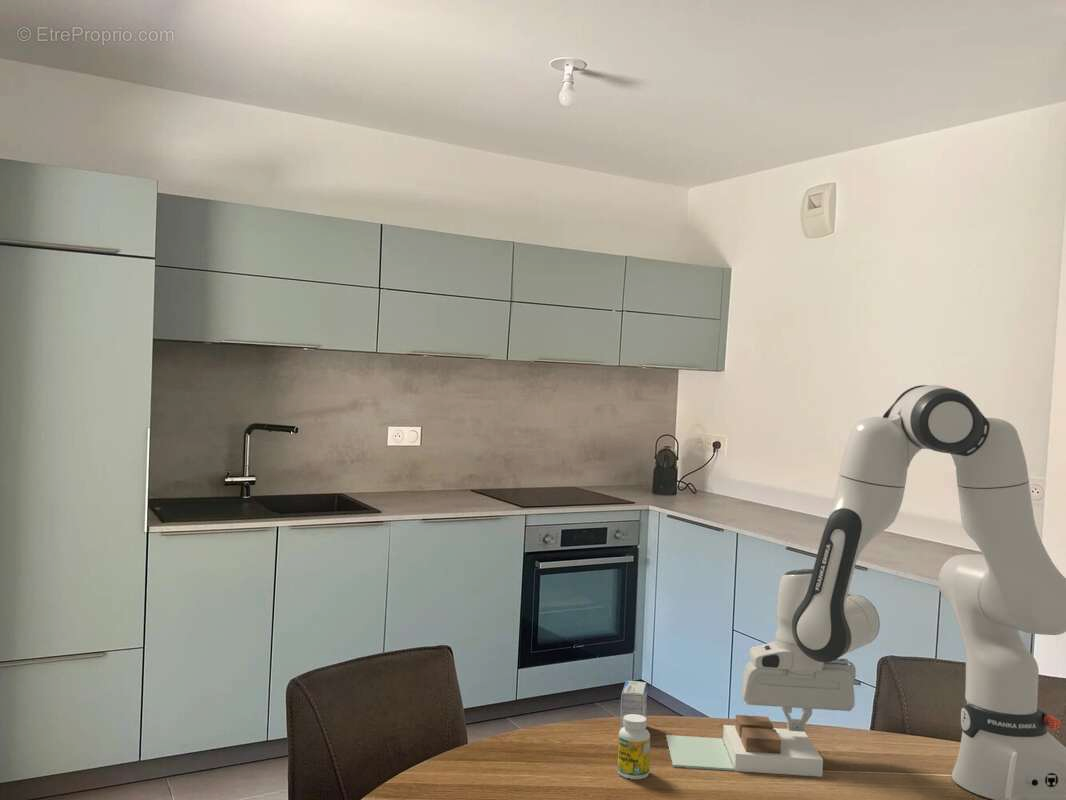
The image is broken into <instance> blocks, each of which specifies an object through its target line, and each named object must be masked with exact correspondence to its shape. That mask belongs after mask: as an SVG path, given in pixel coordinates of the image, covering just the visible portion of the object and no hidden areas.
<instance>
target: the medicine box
mask: <svg viewBox="0 0 1066 800" xmlns="http://www.w3.org/2000/svg"><path fill="white" fill-rule="evenodd" d="M647 697H648V683H647V682H646V681H645V682H644V681H636V680H626V681H625V683H624V686H623V689H622V692H621V697H620V722H619V723H620V724H619V725H620V727H619V729H620V730H621V729H622V728H623V727H624V725H623V717H624V716H625V715H628V714H637V715H642V716H644V717H646V718H647V699H648V698H647ZM620 730H619V731H620Z"/></svg>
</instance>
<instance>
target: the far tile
mask: <svg viewBox="0 0 1066 800" xmlns="http://www.w3.org/2000/svg"><path fill="white" fill-rule="evenodd" d="M734 726H735V728H736V731H737V733H738V735H739V737H740V738H741V734H742V727H745V728H761V729H773V728H774V725H773V723H772V722H771V720H770V718H769V716H760V715H745V714H743V715H741V714H735V724H734Z"/></svg>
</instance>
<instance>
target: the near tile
mask: <svg viewBox="0 0 1066 800" xmlns="http://www.w3.org/2000/svg"><path fill="white" fill-rule="evenodd" d="M741 742H742V744H743V746H744V748H745V751H746V752H757V753H772V754H781V739H780V737H779V735H778V733H777V732H776V730H775V729H761V728H745V727H742V734H741Z"/></svg>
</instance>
